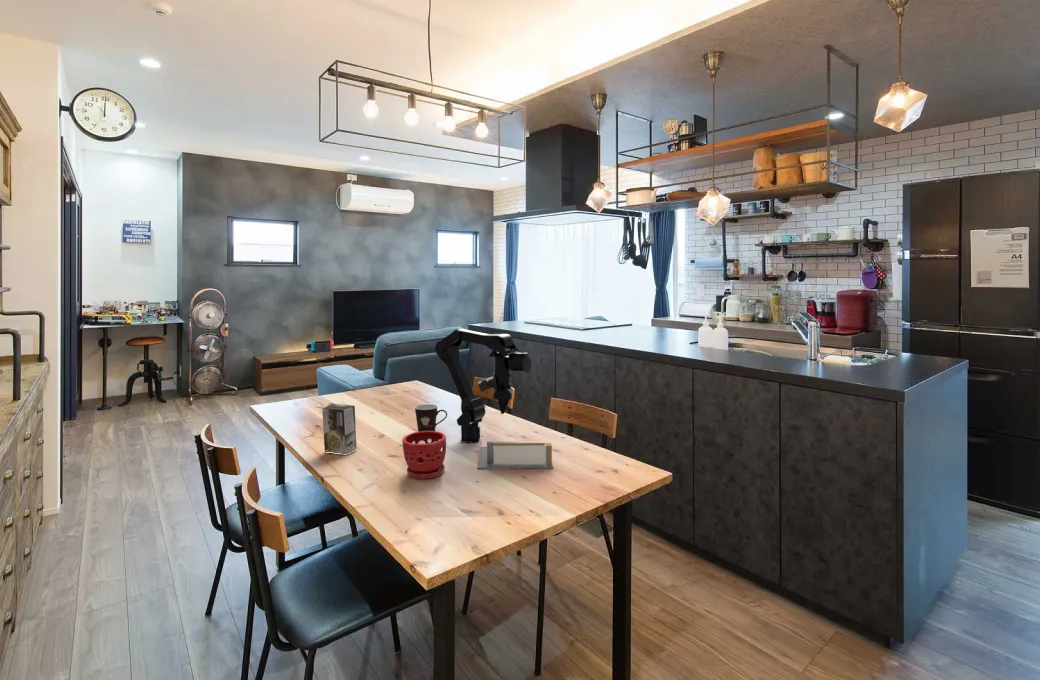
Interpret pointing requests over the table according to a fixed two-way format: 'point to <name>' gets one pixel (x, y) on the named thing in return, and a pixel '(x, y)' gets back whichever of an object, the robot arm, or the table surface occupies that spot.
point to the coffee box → (339, 428)
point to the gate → (515, 452)
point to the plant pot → (424, 454)
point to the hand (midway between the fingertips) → (502, 413)
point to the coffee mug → (427, 417)
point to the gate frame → (483, 463)
